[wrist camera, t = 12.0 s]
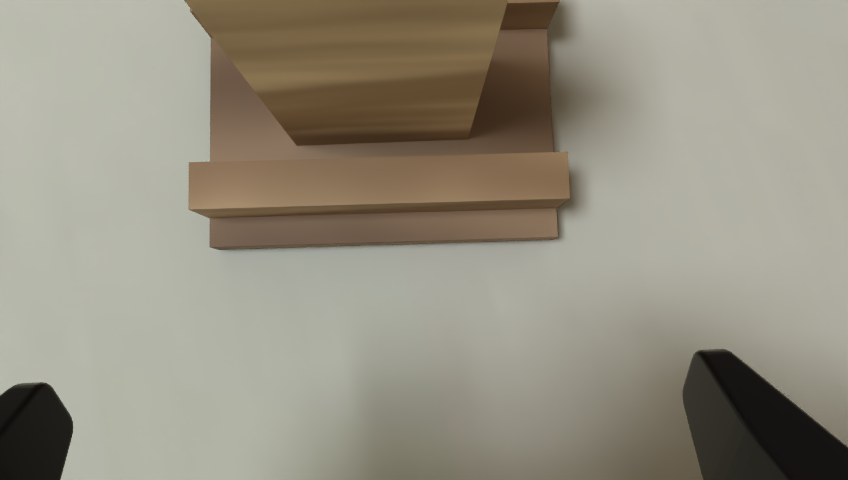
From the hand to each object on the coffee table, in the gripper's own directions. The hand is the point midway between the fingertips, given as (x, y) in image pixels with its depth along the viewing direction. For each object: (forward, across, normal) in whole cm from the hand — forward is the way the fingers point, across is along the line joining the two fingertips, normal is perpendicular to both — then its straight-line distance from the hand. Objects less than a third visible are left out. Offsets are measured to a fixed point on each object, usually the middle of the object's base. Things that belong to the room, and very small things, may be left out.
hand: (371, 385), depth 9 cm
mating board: (+16, +1, +3) cm, 16 cm away
